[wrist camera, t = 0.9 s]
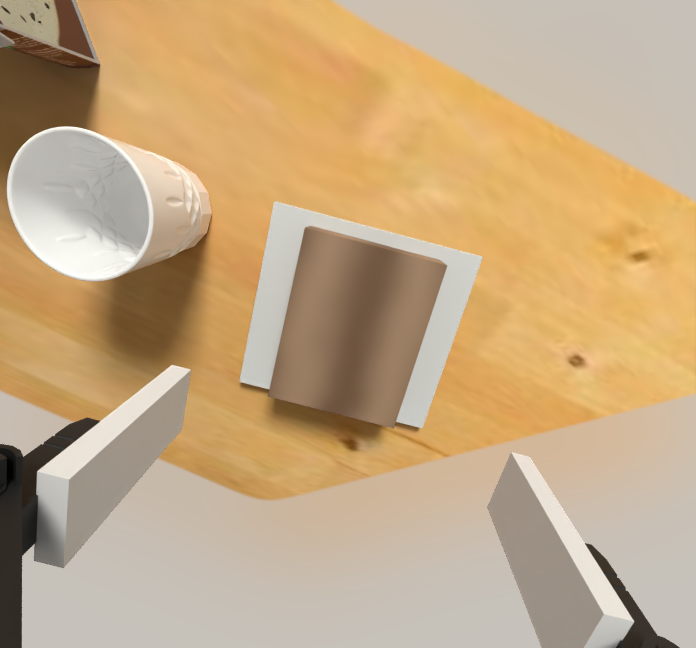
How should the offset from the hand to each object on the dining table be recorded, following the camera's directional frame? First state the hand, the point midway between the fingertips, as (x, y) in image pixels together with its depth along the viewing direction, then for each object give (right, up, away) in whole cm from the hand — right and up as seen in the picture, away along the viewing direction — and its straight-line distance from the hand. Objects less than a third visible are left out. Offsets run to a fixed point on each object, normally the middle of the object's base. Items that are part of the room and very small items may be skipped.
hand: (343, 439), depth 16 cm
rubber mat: (+1, +5, +17) cm, 17 cm away
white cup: (-14, +14, +15) cm, 24 cm away
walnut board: (+1, +5, +16) cm, 17 cm away
